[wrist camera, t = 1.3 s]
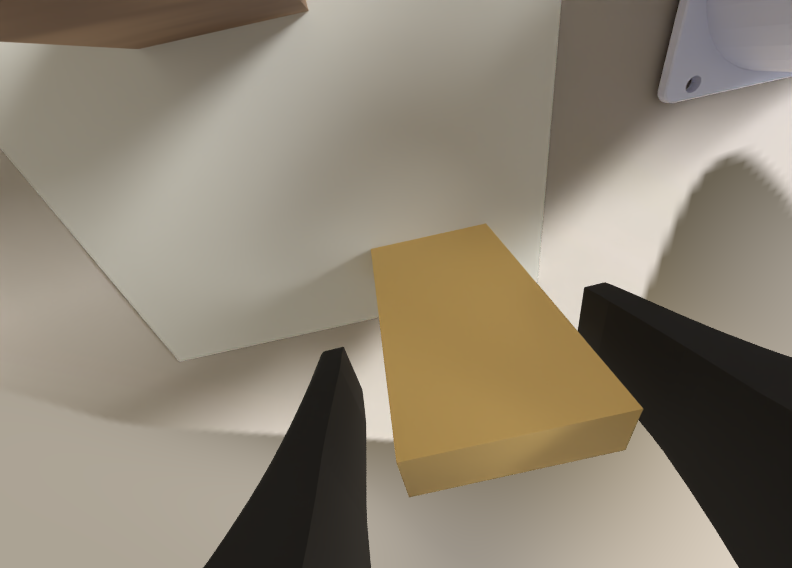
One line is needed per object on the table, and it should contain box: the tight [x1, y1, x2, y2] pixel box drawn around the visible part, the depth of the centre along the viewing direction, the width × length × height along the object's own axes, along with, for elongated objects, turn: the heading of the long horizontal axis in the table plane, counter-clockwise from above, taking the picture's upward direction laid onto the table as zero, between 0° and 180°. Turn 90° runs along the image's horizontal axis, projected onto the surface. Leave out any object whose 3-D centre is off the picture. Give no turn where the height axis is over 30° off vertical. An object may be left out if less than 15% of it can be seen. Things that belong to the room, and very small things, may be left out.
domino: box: [371, 223, 643, 497], centre depth 11 cm, size 5×2×9 cm, turn 100°
